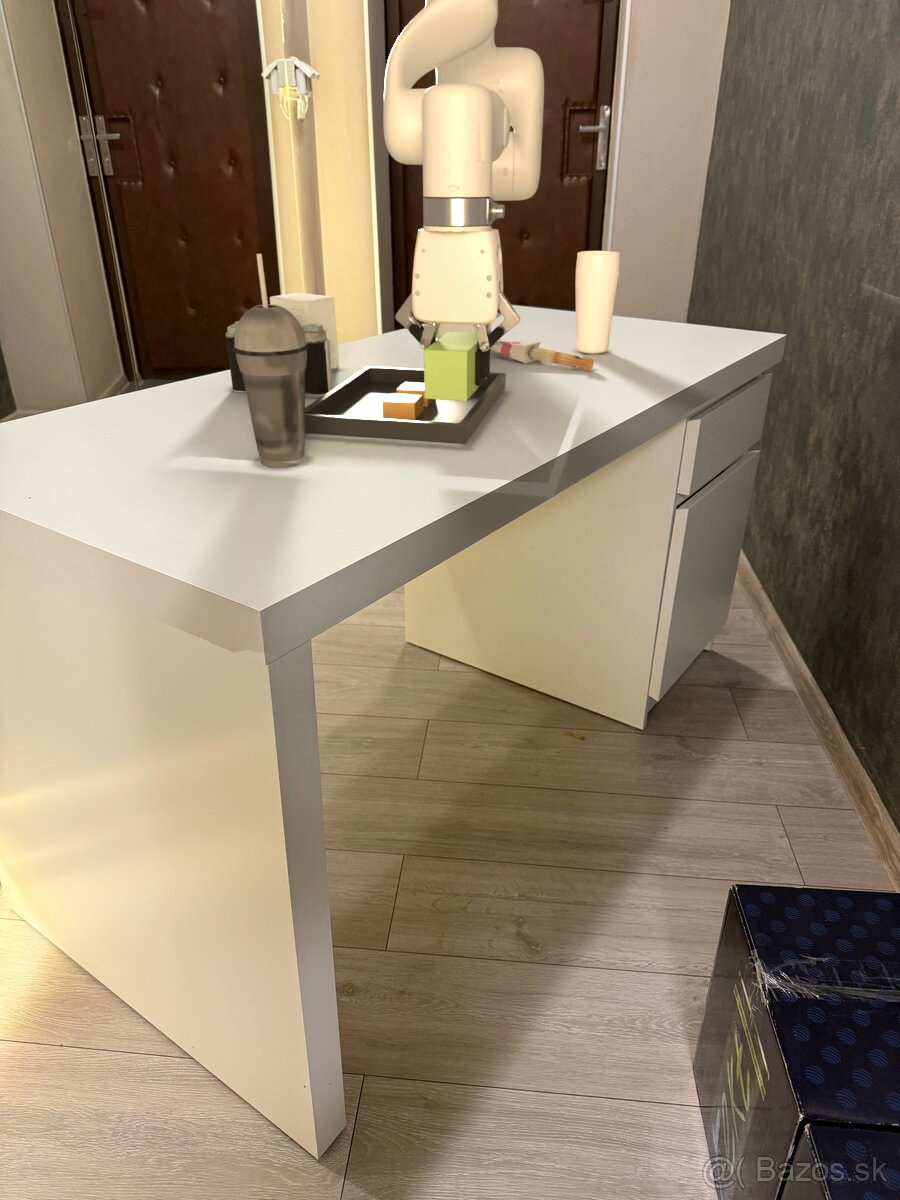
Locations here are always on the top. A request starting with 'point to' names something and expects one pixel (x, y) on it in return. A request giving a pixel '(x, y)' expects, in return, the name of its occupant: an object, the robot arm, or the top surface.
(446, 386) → the sponge
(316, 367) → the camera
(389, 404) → the block
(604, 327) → the drinking glass
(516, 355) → the paintbrush
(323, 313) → the small box
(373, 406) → the pan
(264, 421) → the beverage cup
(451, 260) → the robot arm
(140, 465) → the top surface
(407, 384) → the block
